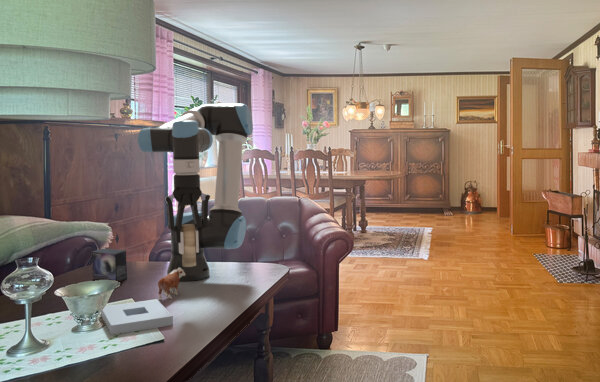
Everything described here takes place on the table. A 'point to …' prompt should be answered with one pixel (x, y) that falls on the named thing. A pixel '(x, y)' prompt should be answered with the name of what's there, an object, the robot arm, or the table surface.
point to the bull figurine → (170, 282)
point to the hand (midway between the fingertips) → (188, 252)
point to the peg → (189, 245)
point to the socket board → (136, 316)
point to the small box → (109, 264)
